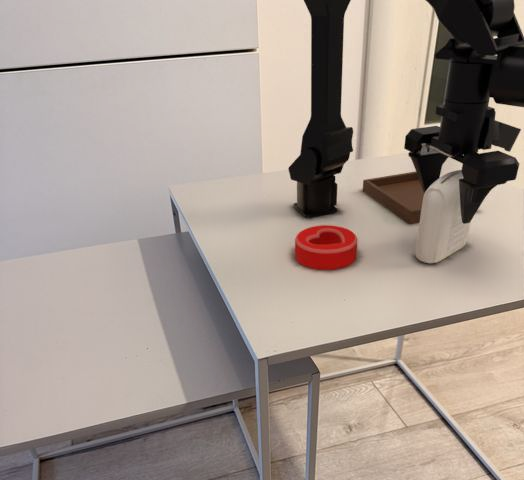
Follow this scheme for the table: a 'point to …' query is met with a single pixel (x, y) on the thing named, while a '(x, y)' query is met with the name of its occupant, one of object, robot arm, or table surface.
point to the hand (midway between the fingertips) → (447, 211)
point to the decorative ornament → (326, 247)
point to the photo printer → (441, 220)
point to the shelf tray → (398, 194)
